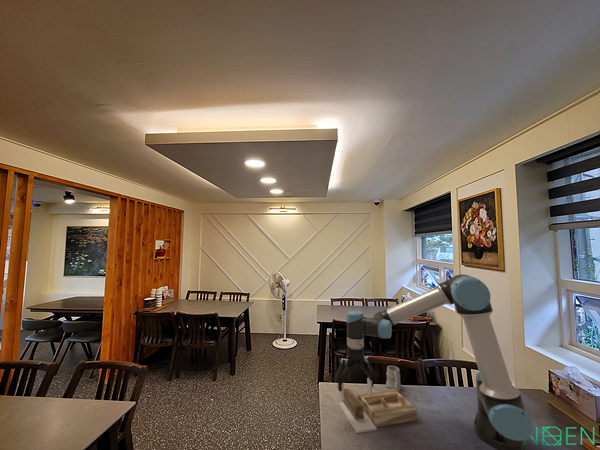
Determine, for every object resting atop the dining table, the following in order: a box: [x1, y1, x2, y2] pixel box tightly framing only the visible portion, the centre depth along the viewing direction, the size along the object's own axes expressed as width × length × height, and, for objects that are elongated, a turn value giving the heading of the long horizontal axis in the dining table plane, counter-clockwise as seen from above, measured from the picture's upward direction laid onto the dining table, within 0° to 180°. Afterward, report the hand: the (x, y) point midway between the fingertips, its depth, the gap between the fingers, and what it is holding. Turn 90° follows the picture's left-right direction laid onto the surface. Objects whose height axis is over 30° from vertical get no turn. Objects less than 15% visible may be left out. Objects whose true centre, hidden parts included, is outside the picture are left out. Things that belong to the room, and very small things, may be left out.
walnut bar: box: [341, 388, 364, 420], centre depth 110 cm, size 4×14×5 cm, turn 13°
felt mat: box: [338, 401, 378, 434], centre depth 106 cm, size 19×9×1 cm, turn 13°
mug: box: [385, 365, 402, 393], centre depth 128 cm, size 8×12×12 cm, turn 175°
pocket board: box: [357, 389, 418, 428], centre depth 110 cm, size 16×20×4 cm
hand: (356, 396), depth 107 cm, fingers open, 13 cm apart
